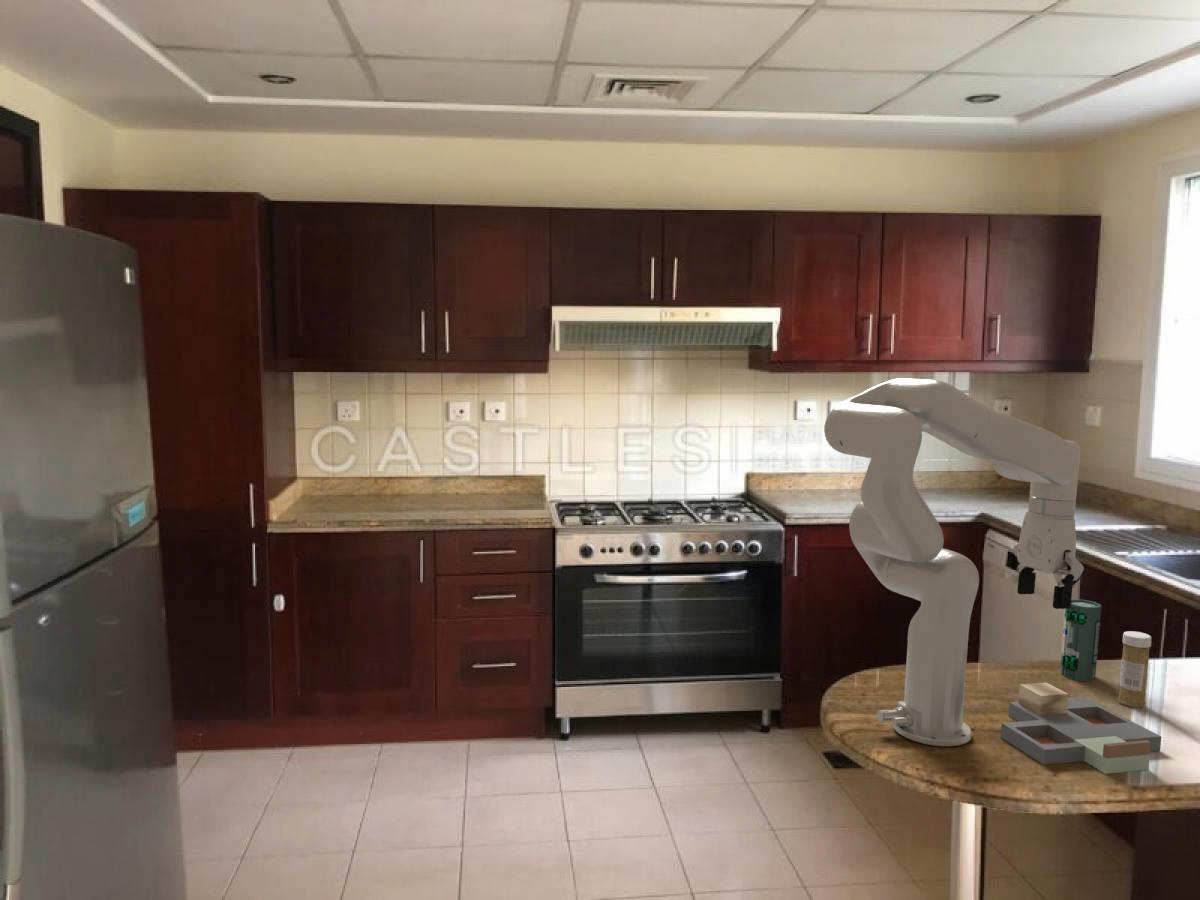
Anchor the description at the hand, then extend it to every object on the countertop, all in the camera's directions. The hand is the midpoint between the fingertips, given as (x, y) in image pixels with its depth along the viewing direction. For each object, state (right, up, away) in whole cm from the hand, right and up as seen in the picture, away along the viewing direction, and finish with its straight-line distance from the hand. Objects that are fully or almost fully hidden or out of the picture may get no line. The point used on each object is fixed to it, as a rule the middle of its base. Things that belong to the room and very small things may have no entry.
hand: (1043, 600), depth 167 cm
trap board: (-1, -22, -13) cm, 25 cm away
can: (+16, -19, +19) cm, 31 cm away
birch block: (-3, -18, -5) cm, 19 cm away
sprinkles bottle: (+19, -20, +5) cm, 28 cm away
